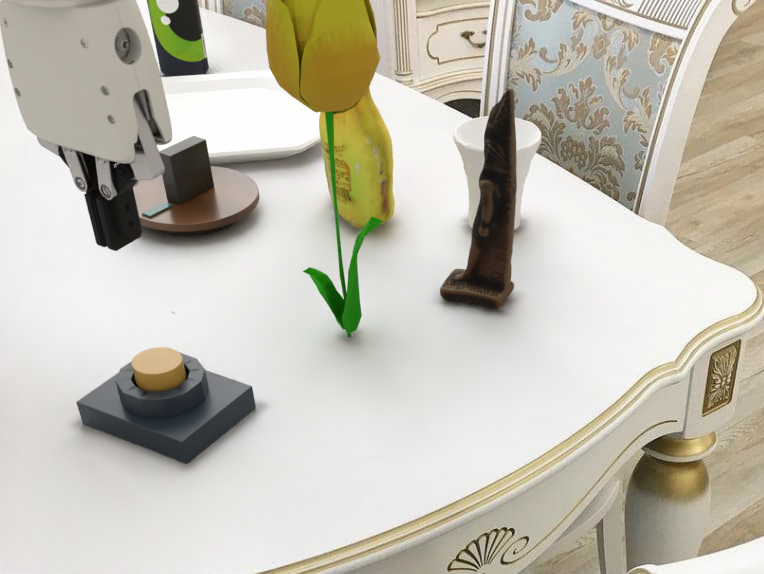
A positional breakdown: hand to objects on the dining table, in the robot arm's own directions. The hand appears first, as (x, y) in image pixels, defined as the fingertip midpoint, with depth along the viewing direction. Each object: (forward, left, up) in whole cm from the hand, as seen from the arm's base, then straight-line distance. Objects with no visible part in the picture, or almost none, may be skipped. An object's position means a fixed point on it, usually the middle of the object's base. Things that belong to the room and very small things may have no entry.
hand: (120, 240), depth 83 cm
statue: (+14, +30, -15) cm, 36 cm away
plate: (-33, +49, -15) cm, 61 cm away
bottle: (-6, +39, -15) cm, 42 cm away
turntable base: (-21, +30, -15) cm, 39 cm away
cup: (+8, +44, -15) cm, 47 cm away
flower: (+7, +18, -15) cm, 24 cm away
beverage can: (-48, +61, -15) cm, 79 cm away
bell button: (+1, 0, -11) cm, 11 cm away
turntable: (-21, +30, -14) cm, 39 cm away
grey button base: (+1, 0, -15) cm, 15 cm away
